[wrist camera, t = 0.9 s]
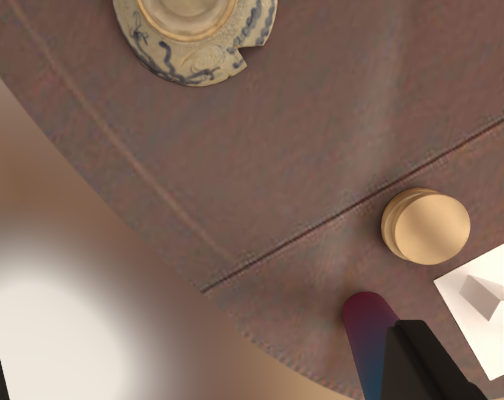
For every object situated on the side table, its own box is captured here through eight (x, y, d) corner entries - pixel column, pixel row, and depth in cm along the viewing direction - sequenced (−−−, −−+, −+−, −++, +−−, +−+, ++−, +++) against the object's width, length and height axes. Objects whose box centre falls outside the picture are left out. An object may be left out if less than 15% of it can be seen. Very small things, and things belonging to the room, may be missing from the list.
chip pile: (415, 170, 36) (428, 176, 33) (468, 215, 37) (486, 224, 34) (363, 227, 38) (372, 237, 35) (416, 268, 39) (429, 282, 36)
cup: (373, 272, 39) (440, 372, 24) (408, 316, 40) (492, 436, 26) (321, 307, 40) (356, 423, 26) (357, 349, 41) (410, 483, 27)
